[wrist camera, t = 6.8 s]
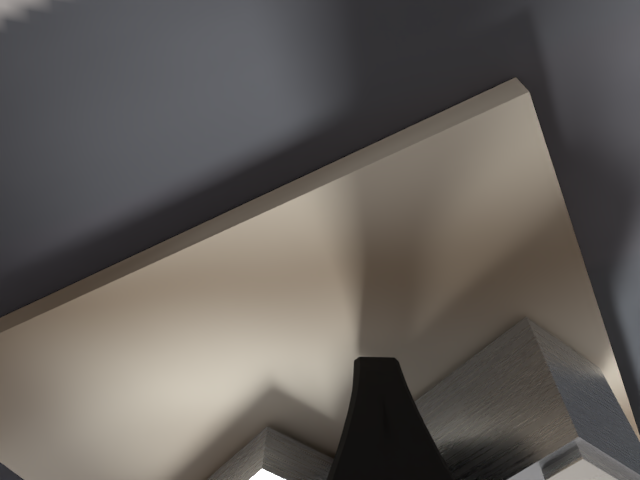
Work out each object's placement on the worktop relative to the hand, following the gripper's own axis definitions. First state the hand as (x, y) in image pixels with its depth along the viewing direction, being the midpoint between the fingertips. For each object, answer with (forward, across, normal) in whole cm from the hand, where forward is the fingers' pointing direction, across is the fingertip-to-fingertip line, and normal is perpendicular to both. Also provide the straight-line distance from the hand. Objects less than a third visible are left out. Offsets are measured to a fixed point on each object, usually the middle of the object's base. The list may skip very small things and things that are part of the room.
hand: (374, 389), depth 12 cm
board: (+2, +1, +5) cm, 5 cm away
